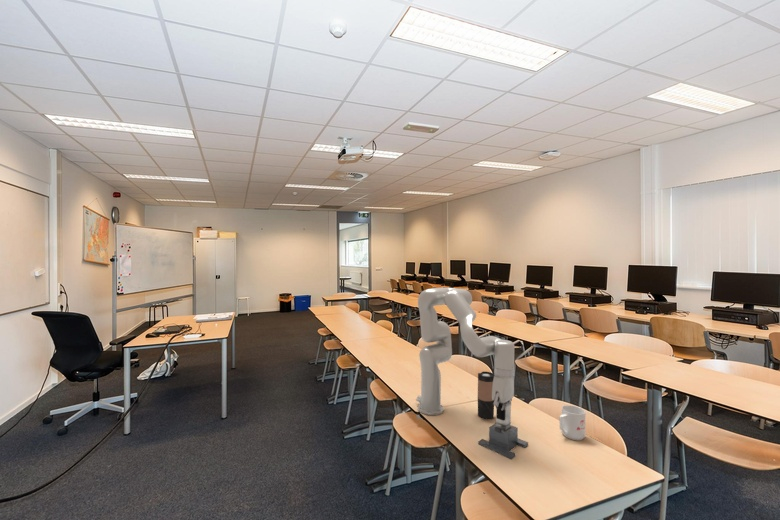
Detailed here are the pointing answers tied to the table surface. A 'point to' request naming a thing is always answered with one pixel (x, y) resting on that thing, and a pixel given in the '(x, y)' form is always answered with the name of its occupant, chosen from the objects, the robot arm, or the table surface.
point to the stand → (503, 441)
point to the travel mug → (485, 395)
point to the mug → (572, 422)
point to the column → (506, 423)
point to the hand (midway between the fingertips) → (503, 416)
